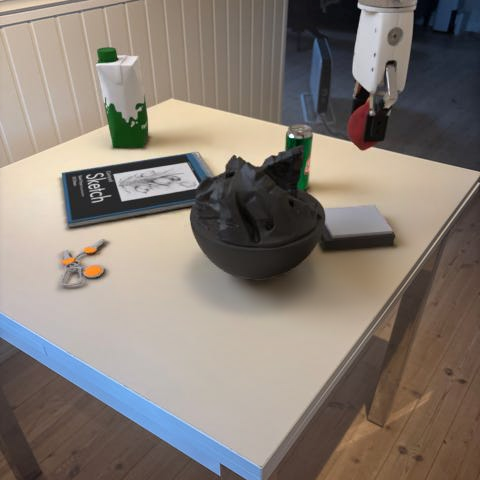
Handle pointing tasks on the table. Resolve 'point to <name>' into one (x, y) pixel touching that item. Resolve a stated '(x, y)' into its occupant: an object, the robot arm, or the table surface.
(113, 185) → the sketchbook
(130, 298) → the table surface
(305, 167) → the soda can
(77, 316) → the table surface
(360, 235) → the scale
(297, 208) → the coal bowl
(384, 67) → the robot arm
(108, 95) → the milk carton
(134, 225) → the table surface
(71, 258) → the key chain
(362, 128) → the onion
